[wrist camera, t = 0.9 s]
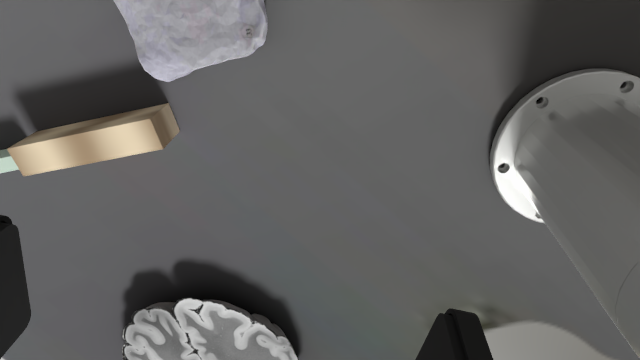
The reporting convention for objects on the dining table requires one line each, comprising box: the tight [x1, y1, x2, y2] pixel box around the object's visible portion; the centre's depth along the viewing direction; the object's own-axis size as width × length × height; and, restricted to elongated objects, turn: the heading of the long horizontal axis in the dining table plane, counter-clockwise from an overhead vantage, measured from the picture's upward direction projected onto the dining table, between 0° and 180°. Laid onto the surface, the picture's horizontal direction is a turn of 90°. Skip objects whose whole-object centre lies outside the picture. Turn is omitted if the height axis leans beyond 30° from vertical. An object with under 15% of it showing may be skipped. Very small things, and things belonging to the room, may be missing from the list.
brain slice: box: [122, 298, 298, 360], centre depth 45 cm, size 20×17×3 cm
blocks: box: [7, 103, 180, 176], centre depth 29 cm, size 12×21×4 cm, turn 13°
